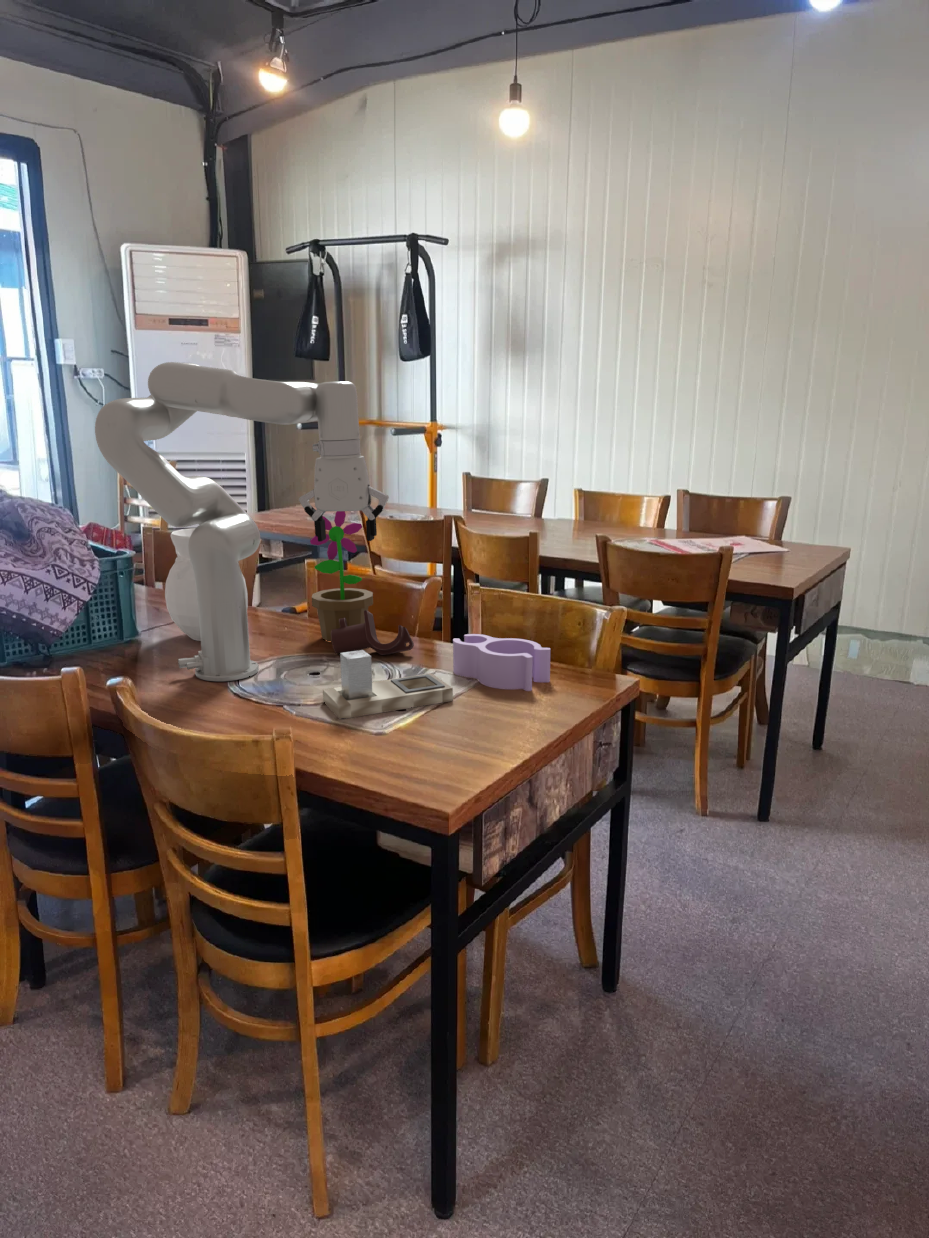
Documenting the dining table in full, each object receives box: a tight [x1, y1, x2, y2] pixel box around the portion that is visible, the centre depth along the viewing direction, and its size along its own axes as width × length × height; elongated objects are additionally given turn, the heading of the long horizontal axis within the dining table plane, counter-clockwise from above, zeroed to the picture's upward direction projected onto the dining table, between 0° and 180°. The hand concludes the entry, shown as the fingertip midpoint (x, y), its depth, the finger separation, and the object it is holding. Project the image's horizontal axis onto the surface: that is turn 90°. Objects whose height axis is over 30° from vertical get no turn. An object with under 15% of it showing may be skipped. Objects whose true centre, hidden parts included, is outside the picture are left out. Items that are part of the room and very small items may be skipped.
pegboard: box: [322, 672, 454, 720], centre depth 170 cm, size 22×10×3 cm, turn 115°
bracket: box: [331, 610, 415, 656], centre depth 200 cm, size 6×17×10 cm, turn 88°
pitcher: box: [164, 527, 249, 642], centre depth 212 cm, size 19×18×25 cm
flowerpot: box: [309, 511, 374, 642], centre depth 210 cm, size 14×14×30 cm
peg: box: [339, 649, 373, 701], centre depth 167 cm, size 4×4×10 cm
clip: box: [452, 633, 551, 692], centre depth 184 cm, size 20×12×7 cm, turn 53°
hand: (346, 540), depth 175 cm, fingers open, 9 cm apart
